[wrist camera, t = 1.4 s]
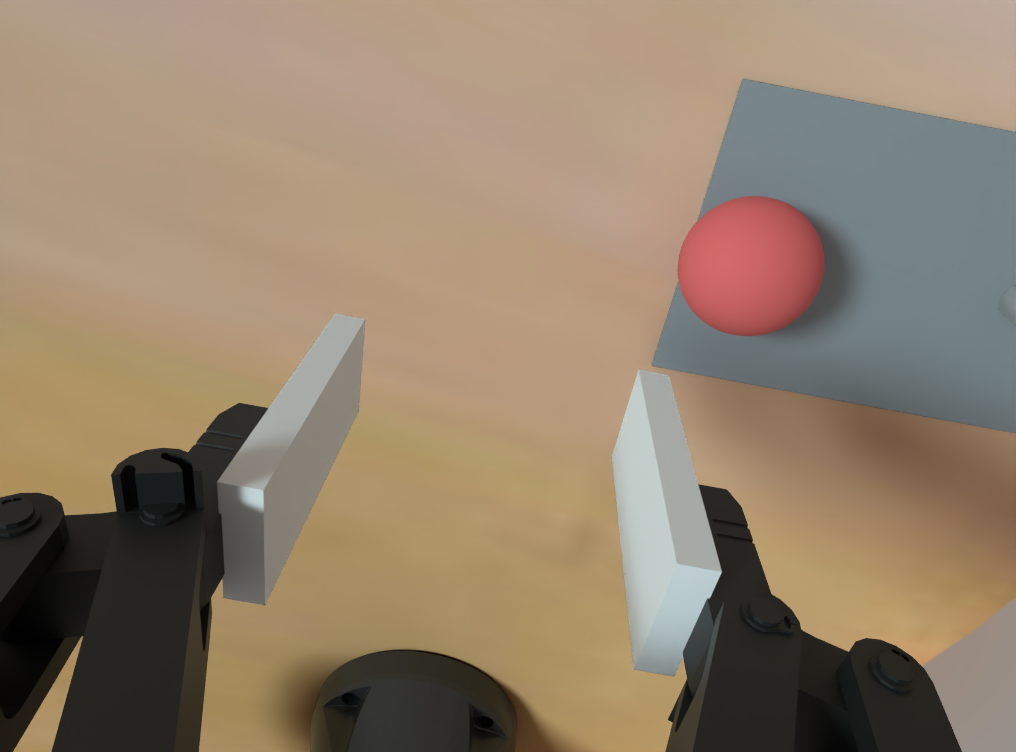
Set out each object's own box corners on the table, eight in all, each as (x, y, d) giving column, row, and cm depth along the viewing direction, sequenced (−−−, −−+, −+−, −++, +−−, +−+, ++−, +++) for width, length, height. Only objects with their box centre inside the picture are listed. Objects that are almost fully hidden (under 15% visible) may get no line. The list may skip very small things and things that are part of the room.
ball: (772, 313, 34) (810, 372, 29) (654, 290, 34) (670, 346, 29) (820, 194, 31) (872, 236, 26) (690, 169, 31) (717, 206, 26)
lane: (1129, 452, 36) (1132, 454, 36) (652, 364, 36) (652, 366, 36) (1331, 194, 29) (1336, 195, 29) (742, 78, 29) (743, 79, 29)
